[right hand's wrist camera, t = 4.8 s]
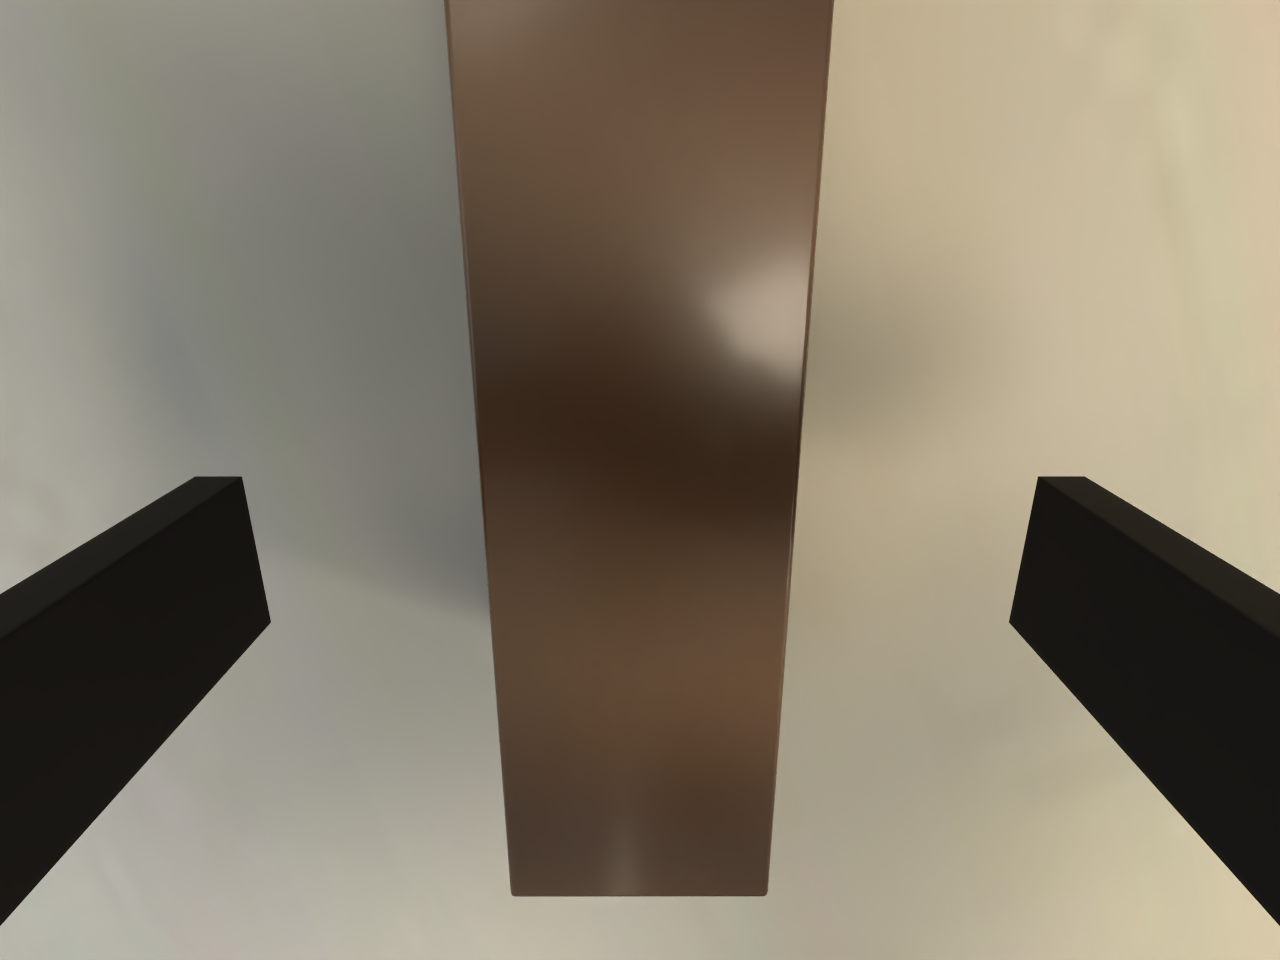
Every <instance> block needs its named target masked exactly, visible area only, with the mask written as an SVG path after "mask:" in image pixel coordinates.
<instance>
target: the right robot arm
mask: <svg viewBox="0 0 1280 960" xmlns="http://www.w3.org/2000/svg"><path fill="white" fill-rule="evenodd" d="M270 623H271V620H270V615H269V610H268V605H267V600H266V595H265V590H264V585H263V580H262V575H261V570H260V565H259V560H258V555H257V550H256V545H255V540H254V535H253V530H252V525H251V520H250V515H249V510H248V505H247V500H246V495H245V490H244V485H243V480H242V477H194V478H192V479H191V480H189V481H187V482H186V483H184V484H182V485H181V486H179V487H177V488H176V489H174V490H172V491H171V492H169V493H167V494H166V495H164V496H162V497H161V498H159V499H157V500H156V501H154V502H152V503H151V504H149V505H147V506H146V507H144V508H142V509H141V510H139V511H137V512H136V513H134V514H132V515H131V516H129V517H128V518H126V519H124V520H123V521H121V522H119V523H118V524H116V525H114V526H113V527H111V528H109V529H108V530H106V531H104V532H103V533H101V534H99V535H98V536H96V537H94V538H93V539H91V540H89V541H88V542H86V543H84V544H83V545H81V546H79V547H78V548H76V549H74V550H73V551H71V552H69V553H68V554H66V555H65V556H63V557H61V558H60V559H58V560H56V561H55V562H53V563H51V564H50V565H48V566H46V567H45V568H43V569H41V570H40V571H38V572H36V573H35V574H33V575H31V576H30V577H28V578H26V579H25V580H23V581H21V582H20V583H18V584H16V585H15V586H13V587H11V588H10V589H8V590H6V591H5V592H3V593H2V594H0V926H1V924H2V923H3V922H4V921H5V920H6V919H7V918H8V917H9V915H10V914H11V913H12V912H13V911H14V910H15V909H16V908H17V906H18V905H19V904H20V903H21V902H22V901H23V900H24V899H25V898H26V896H27V895H28V894H29V893H30V892H31V891H32V890H33V889H34V887H35V886H36V885H37V884H38V883H39V882H40V881H41V880H42V878H43V877H44V876H45V875H46V874H47V873H48V872H49V871H50V869H51V868H52V867H53V866H54V865H55V864H56V863H57V862H58V860H59V859H60V858H61V857H62V856H63V855H64V854H65V853H66V852H67V850H68V849H69V848H70V847H71V846H72V845H73V844H74V843H75V841H76V840H77V839H78V838H79V837H80V836H81V835H82V834H83V832H84V831H85V830H86V829H87V828H88V827H89V826H90V825H91V823H92V822H93V821H94V820H95V819H96V818H97V817H98V816H99V815H100V813H101V812H102V811H103V810H104V809H105V808H106V807H107V806H108V804H109V803H110V802H111V801H112V800H113V799H114V798H115V797H116V795H117V794H118V793H119V792H120V791H121V790H122V789H123V788H124V786H125V785H126V784H127V783H128V782H129V781H130V780H131V779H132V778H133V776H134V775H135V774H136V773H137V772H138V771H139V770H140V769H141V767H142V766H143V765H144V764H145V763H146V762H147V761H148V760H149V758H150V757H151V756H152V755H153V754H154V753H155V752H156V751H157V749H158V748H159V747H160V746H161V745H162V744H163V743H164V742H165V741H166V739H167V738H168V737H169V736H170V735H171V734H172V733H173V732H174V730H175V729H176V728H177V727H178V726H179V725H180V724H181V723H182V721H183V720H184V719H185V718H186V717H187V716H188V715H189V714H190V712H191V711H192V710H193V709H194V708H195V707H196V706H197V705H198V704H199V702H200V701H201V700H202V699H203V698H204V697H205V696H206V695H207V693H208V692H209V691H210V690H211V689H212V688H213V687H214V686H215V684H216V683H217V682H218V681H219V680H220V679H221V678H222V677H223V675H224V674H225V673H226V672H227V671H228V670H229V669H230V668H231V666H232V665H233V664H234V663H235V662H236V661H237V660H238V659H239V658H240V656H241V655H242V654H243V653H244V652H245V651H246V650H247V649H248V647H249V646H250V645H251V644H252V643H253V642H254V641H255V640H256V638H257V637H258V636H259V635H260V634H261V633H262V632H263V631H264V629H265V628H266V627H267V626H268V625H269V624H270ZM1009 623H1010V624H1011V625H1012V626H1013V627H1014V628H1015V629H1016V631H1017V632H1018V633H1019V634H1020V635H1021V636H1022V637H1023V638H1024V640H1025V641H1026V642H1027V643H1028V644H1029V645H1030V646H1031V647H1032V649H1033V650H1034V651H1035V652H1036V653H1037V654H1038V655H1039V656H1040V658H1041V659H1042V660H1043V661H1044V662H1045V663H1046V664H1047V665H1048V667H1049V668H1050V669H1051V670H1052V671H1053V672H1054V673H1055V674H1056V675H1057V677H1058V678H1059V679H1060V680H1061V681H1062V682H1063V683H1064V684H1065V686H1066V687H1067V688H1068V689H1069V690H1070V691H1071V692H1072V693H1073V695H1074V696H1075V697H1076V698H1077V699H1078V700H1079V701H1080V702H1081V704H1082V705H1083V706H1084V707H1085V708H1086V709H1087V710H1088V711H1089V712H1090V714H1091V715H1092V716H1093V717H1094V718H1095V719H1096V720H1097V721H1098V723H1099V724H1100V725H1101V726H1102V727H1103V728H1104V729H1105V730H1106V732H1107V733H1108V734H1109V735H1110V736H1111V737H1112V738H1113V739H1114V741H1115V742H1116V743H1117V744H1118V745H1119V746H1120V747H1121V748H1122V749H1123V751H1124V752H1125V753H1126V754H1127V755H1128V756H1129V757H1130V758H1131V760H1132V761H1133V762H1134V763H1135V764H1136V765H1137V766H1138V767H1139V769H1140V770H1141V771H1142V772H1143V773H1144V774H1145V775H1146V776H1147V778H1148V779H1149V780H1150V781H1151V782H1152V783H1153V784H1154V785H1155V786H1156V788H1157V789H1158V790H1159V791H1160V792H1161V793H1162V794H1163V795H1164V797H1165V798H1166V799H1167V800H1168V801H1169V802H1170V803H1171V804H1172V806H1173V807H1174V808H1175V809H1176V810H1177V811H1178V812H1179V813H1180V815H1181V816H1182V817H1183V818H1184V819H1185V820H1186V821H1187V822H1188V823H1189V825H1190V826H1191V827H1192V828H1193V829H1194V830H1195V831H1196V832H1197V834H1198V835H1199V836H1200V837H1201V838H1202V839H1203V840H1204V841H1205V843H1206V844H1207V845H1208V846H1209V847H1210V848H1211V849H1212V850H1213V852H1214V853H1215V854H1216V855H1217V856H1218V857H1219V858H1220V859H1221V861H1222V862H1223V863H1224V864H1225V865H1226V866H1227V867H1228V868H1229V869H1230V871H1231V872H1232V873H1233V874H1234V875H1235V876H1236V877H1237V878H1238V880H1239V881H1240V882H1241V883H1242V884H1243V885H1244V886H1245V887H1246V889H1247V890H1248V891H1249V892H1250V893H1251V894H1252V895H1253V896H1254V898H1255V899H1256V900H1257V901H1258V902H1259V903H1260V904H1261V905H1262V906H1263V908H1264V909H1265V910H1266V911H1267V912H1268V913H1269V914H1270V915H1271V917H1272V918H1273V919H1274V920H1275V921H1276V922H1277V923H1278V924H1279V926H1280V594H1278V593H1277V592H1275V591H1274V590H1272V589H1270V588H1269V587H1267V586H1265V585H1264V584H1262V583H1260V582H1259V581H1257V580H1255V579H1254V578H1252V577H1250V576H1249V575H1247V574H1245V573H1244V572H1242V571H1240V570H1239V569H1237V568H1235V567H1234V566H1232V565H1230V564H1229V563H1227V562H1225V561H1224V560H1222V559H1220V558H1219V557H1217V556H1215V555H1214V554H1212V553H1211V552H1209V551H1207V550H1206V549H1204V548H1202V547H1201V546H1199V545H1197V544H1196V543H1194V542H1192V541H1191V540H1189V539H1187V538H1186V537H1184V536H1182V535H1181V534H1179V533H1177V532H1176V531H1174V530H1172V529H1171V528H1169V527H1167V526H1166V525H1164V524H1162V523H1161V522H1159V521H1157V520H1156V519H1154V518H1152V517H1151V516H1149V515H1148V514H1146V513H1144V512H1143V511H1141V510H1139V509H1138V508H1136V507H1134V506H1133V505H1131V504H1129V503H1128V502H1126V501H1124V500H1123V499H1121V498H1119V497H1118V496H1116V495H1114V494H1113V493H1111V492H1109V491H1108V490H1106V489H1104V488H1103V487H1101V486H1099V485H1098V484H1096V483H1094V482H1093V481H1091V480H1089V479H1088V478H1086V477H1038V480H1037V485H1036V490H1035V495H1034V500H1033V505H1032V510H1031V515H1030V520H1029V525H1028V530H1027V535H1026V540H1025V545H1024V550H1023V555H1022V560H1021V565H1020V570H1019V575H1018V580H1017V585H1016V590H1015V595H1014V600H1013V605H1012V610H1011V615H1010V620H1009Z"/></svg>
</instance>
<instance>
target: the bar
mask: <svg viewBox="0 0 1280 960" xmlns="http://www.w3.org/2000/svg"><path fill="white" fill-rule="evenodd" d="M444 7H445V20H446V33H447V47H448V60H449V73H450V87H451V100H452V113H453V127H454V140H455V153H456V167H457V180H458V193H459V207H460V220H461V233H462V247H463V260H464V273H465V287H466V300H467V314H468V327H469V340H470V354H471V367H472V380H473V394H474V407H475V420H476V434H477V447H478V460H479V474H480V487H481V500H482V514H483V527H484V540H485V554H486V567H487V580H488V594H489V607H490V620H491V634H492V647H493V660H494V674H495V687H496V701H497V714H498V727H499V741H500V754H501V767H502V781H503V794H504V807H505V821H506V834H507V847H508V861H509V874H510V887H511V894H512V895H513V896H765V895H767V892H768V881H769V867H770V854H771V840H772V827H773V814H774V800H775V787H776V773H777V760H778V746H779V733H780V719H781V706H782V693H783V679H784V666H785V652H786V639H787V625H788V612H789V598H790V585H791V572H792V558H793V545H794V531H795V518H796V504H797V491H798V477H799V464H800V451H801V437H802V424H803V410H804V397H805V383H806V370H807V357H808V343H809V330H810V316H811V303H812V289H813V276H814V262H815V249H816V236H817V222H818V209H819V195H820V182H821V168H822V155H823V141H824V128H825V115H826V101H827V88H828V74H829V61H830V47H831V34H832V20H833V7H834V0H444Z"/></svg>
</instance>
